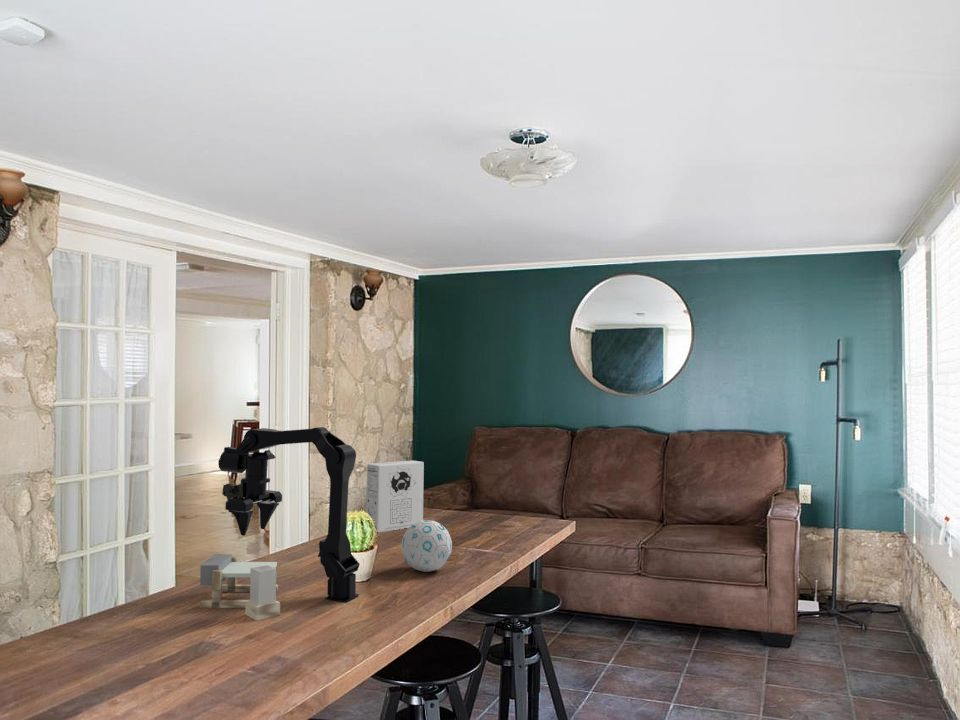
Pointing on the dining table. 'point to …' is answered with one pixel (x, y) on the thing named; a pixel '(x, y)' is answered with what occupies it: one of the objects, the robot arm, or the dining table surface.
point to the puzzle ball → (426, 545)
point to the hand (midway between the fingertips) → (253, 532)
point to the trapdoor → (227, 568)
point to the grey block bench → (219, 588)
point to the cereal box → (395, 494)
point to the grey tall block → (263, 585)
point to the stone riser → (262, 610)
